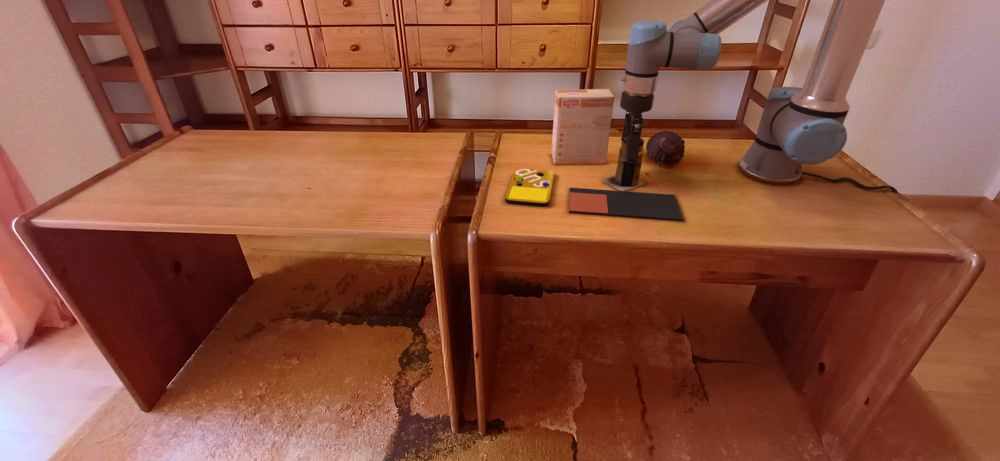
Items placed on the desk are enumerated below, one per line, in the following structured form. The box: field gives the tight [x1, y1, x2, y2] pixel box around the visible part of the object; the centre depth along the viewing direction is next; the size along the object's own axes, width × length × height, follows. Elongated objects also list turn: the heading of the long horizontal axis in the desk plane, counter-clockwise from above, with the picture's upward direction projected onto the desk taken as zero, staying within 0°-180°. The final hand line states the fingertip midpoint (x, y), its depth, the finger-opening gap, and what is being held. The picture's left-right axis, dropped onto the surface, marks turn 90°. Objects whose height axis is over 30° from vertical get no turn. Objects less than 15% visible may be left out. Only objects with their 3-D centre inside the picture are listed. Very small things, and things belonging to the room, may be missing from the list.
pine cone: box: [645, 130, 686, 167], centre depth 135 cm, size 18×10×10 cm
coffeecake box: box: [551, 88, 615, 165], centre depth 133 cm, size 15×7×20 cm, turn 92°
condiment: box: [602, 137, 646, 191], centre depth 123 cm, size 7×8×12 cm
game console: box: [504, 168, 555, 208], centre depth 123 cm, size 18×11×2 cm, turn 171°
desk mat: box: [568, 187, 684, 222], centre depth 116 cm, size 26×12×1 cm, turn 82°
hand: (624, 177), depth 125 cm, fingers open, 9 cm apart
